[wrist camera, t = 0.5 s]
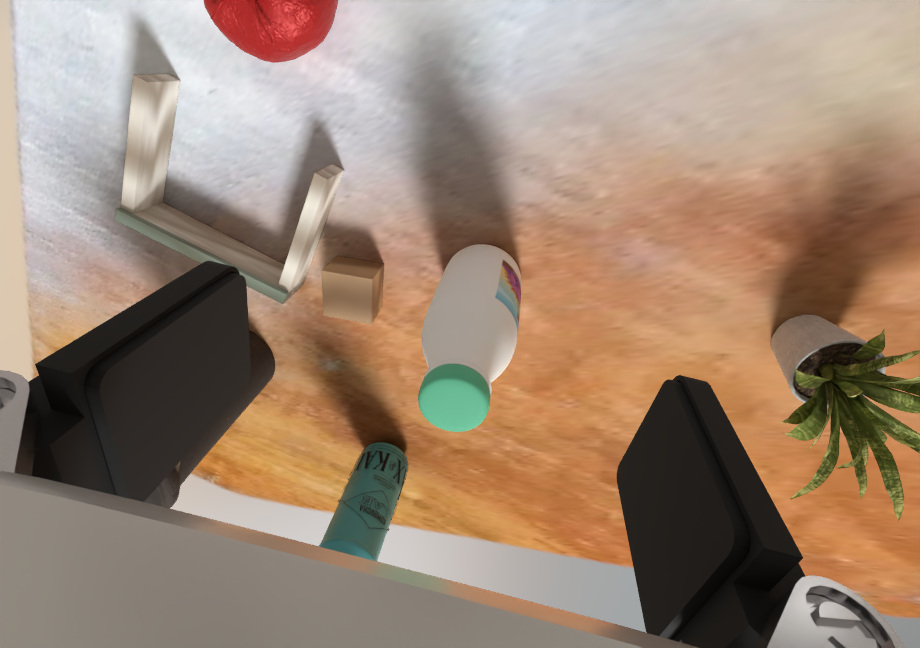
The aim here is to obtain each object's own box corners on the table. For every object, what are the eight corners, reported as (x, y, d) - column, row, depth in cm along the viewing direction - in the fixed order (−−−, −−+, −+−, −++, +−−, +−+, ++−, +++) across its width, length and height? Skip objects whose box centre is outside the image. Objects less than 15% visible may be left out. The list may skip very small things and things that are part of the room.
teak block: (337, 255, 47) (321, 270, 44) (384, 263, 47) (372, 279, 43) (338, 298, 50) (323, 315, 46) (382, 306, 49) (371, 324, 46)
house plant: (776, 426, 50) (871, 569, 36) (684, 357, 47) (747, 482, 33) (912, 339, 43) (1096, 474, 29) (813, 254, 40) (961, 356, 26)
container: (268, 326, 53) (140, 453, 36) (286, 388, 57) (179, 528, 40) (200, 324, 54) (44, 446, 37) (223, 385, 58) (93, 519, 41)
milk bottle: (438, 300, 48) (384, 433, 31) (455, 232, 44) (404, 340, 27) (508, 320, 48) (494, 465, 31) (532, 254, 44) (530, 376, 27)
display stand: (167, 73, 40) (127, 74, 37) (344, 170, 43) (324, 181, 39) (149, 206, 47) (114, 220, 43) (303, 284, 49) (282, 304, 45)
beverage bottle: (404, 474, 62) (353, 633, 45) (358, 457, 61) (289, 610, 44) (419, 443, 59) (371, 601, 41) (370, 424, 58) (302, 576, 41)
